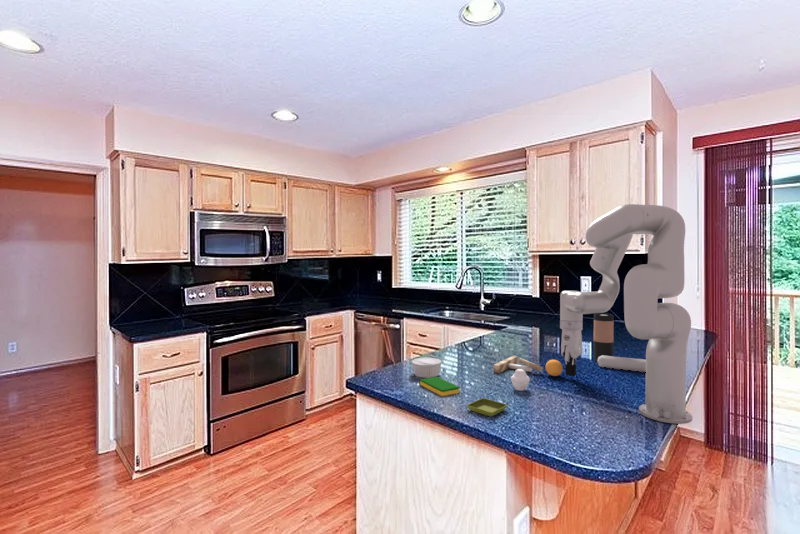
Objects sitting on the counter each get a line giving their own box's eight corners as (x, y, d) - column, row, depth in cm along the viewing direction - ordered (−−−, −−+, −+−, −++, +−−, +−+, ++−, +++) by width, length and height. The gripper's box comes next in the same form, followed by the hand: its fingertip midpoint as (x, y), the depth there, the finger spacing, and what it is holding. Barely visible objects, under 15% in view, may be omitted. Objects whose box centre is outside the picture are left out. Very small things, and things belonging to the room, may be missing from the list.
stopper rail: (498, 373, 158) (498, 365, 158) (493, 372, 159) (493, 364, 159) (517, 363, 172) (517, 356, 172) (513, 362, 173) (513, 355, 173)
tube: (596, 358, 165) (670, 366, 152) (597, 351, 169) (670, 358, 156) (596, 370, 166) (670, 379, 153) (598, 363, 171) (670, 371, 158)
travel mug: (589, 360, 177) (589, 313, 176) (601, 358, 180) (602, 312, 180) (604, 364, 170) (605, 316, 170) (617, 362, 173) (617, 314, 173)
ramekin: (409, 378, 153) (409, 363, 153) (415, 369, 164) (415, 356, 164) (439, 380, 150) (439, 365, 150) (443, 371, 161) (443, 358, 161)
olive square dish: (466, 411, 120) (466, 404, 120) (483, 404, 126) (483, 397, 126) (491, 420, 114) (491, 412, 114) (508, 411, 120) (508, 404, 120)
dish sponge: (442, 397, 133) (442, 390, 132) (419, 386, 145) (419, 379, 145) (460, 394, 136) (460, 386, 136) (436, 382, 148) (436, 376, 148)
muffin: (521, 385, 143) (522, 365, 143) (533, 390, 137) (533, 370, 137) (506, 387, 141) (506, 367, 141) (518, 393, 135) (518, 372, 135)
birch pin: (541, 368, 155) (518, 359, 160) (540, 372, 156) (517, 363, 161) (543, 366, 157) (520, 356, 162) (542, 370, 157) (519, 361, 162)
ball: (542, 360, 155) (543, 376, 153) (557, 360, 151) (559, 377, 150) (548, 359, 159) (550, 375, 158) (564, 359, 155) (565, 375, 154)
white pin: (529, 367, 158) (507, 363, 164) (529, 372, 158) (507, 368, 164) (531, 366, 160) (509, 362, 166) (531, 371, 160) (509, 367, 166)
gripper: (575, 328, 141) (575, 382, 142) (587, 323, 153) (587, 372, 153) (553, 326, 146) (553, 378, 146) (567, 321, 157) (566, 368, 158)
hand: (570, 374), depth 150 cm, fingers closed
